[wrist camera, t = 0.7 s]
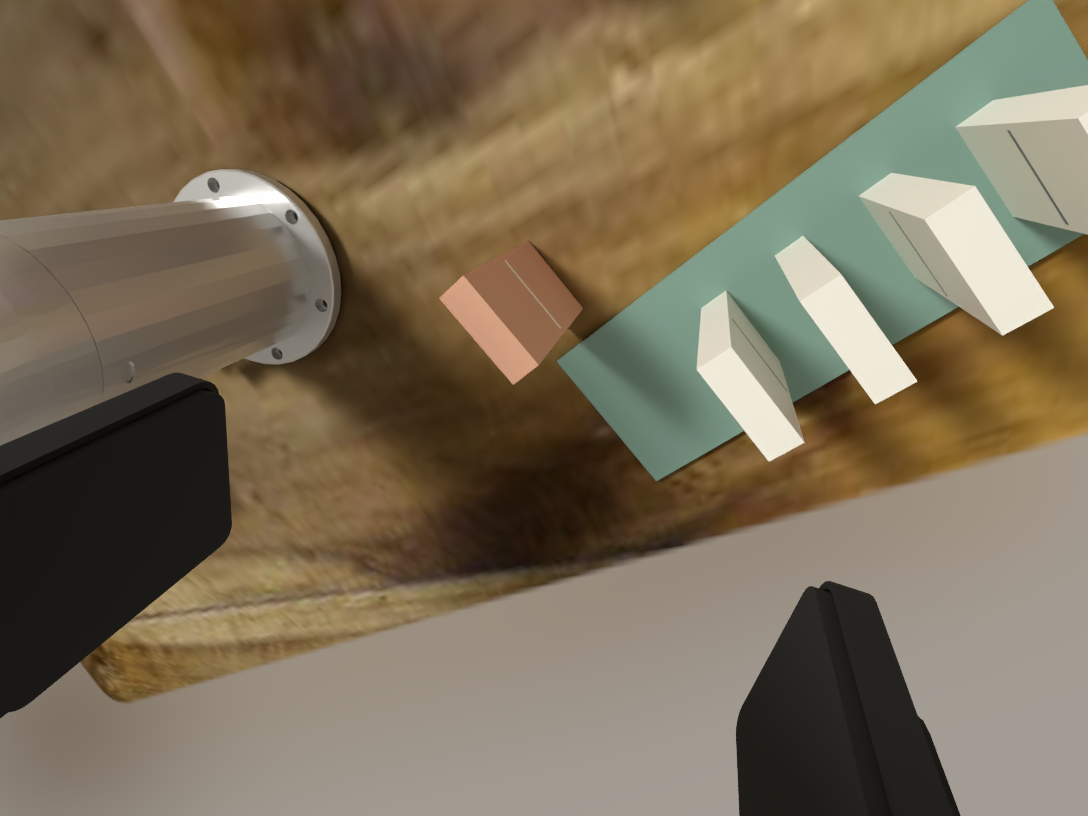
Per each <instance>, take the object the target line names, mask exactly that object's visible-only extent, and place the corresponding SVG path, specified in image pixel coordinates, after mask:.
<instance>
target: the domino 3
mask: <svg viewBox="0 0 1088 816" xmlns="http://www.w3.org/2000/svg"><path fill="white" fill-rule="evenodd" d="M956 129H957V131H958V132H959V134H960V135H961V137H962V138H963V140H964V141H965V143H966V145H967V146H968V148H969V149H970V151H971V152H972V154H973V155H974V157H975V159H976V160H977V162H978V163H979V165H980V166H981V168H982V169H983V171H984V173H985V174H986V176H987V177H988V179H989V180H990V182H991V183H992V185H993V187H994V188H995V190H996V191H997V193H998V194H999V196H1000V197H1001V199H1002V200H1003V202H1004V204H1005V205H1006V207H1007V208H1008V210H1009V211H1010V213H1011V214H1012V216H1013V217H1017V218H1021V219H1025V220H1029V221H1033V222H1037V223H1041V224H1046V225H1050V226H1054V227H1058V228H1062V229H1066V230H1071V231H1075V232H1079V233H1083V234H1087V235H1088V85H1085V86H1078V87H1072V88H1066V89H1059V90H1053V91H1047V92H1041V93H1034V94H1028V95H1022V96H1015V97H1009V98H1003V99H997V100H993V101H991V102H990V103H989V104H987V105H986V106H984V107H983V108H981V109H980V110H979V111H977V112H976V113H974V114H973V115H972V116H970V117H969V118H967V119H966V120H965V121H963V122H962V123H960V124H959V125H958V126H956Z"/></svg>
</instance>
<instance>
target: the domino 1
mask: <svg viewBox="0 0 1088 816" xmlns="http://www.w3.org/2000/svg"><path fill="white" fill-rule="evenodd" d="M697 371H698V372H699V373H700V375H701V376H702V377H703V379H704V380H705V381H706V382H707V384H708V385H709V386H710V387H711V389H712V390H713V391H714V393H715V394H716V395H717V396H718V398H719V399H720V400H721V401H722V403H723V404H724V405H725V406H726V408H727V409H728V410H729V412H730V413H731V414H732V415H733V417H734V418H735V419H736V420H737V422H738V423H739V424H740V426H741V427H742V428H743V429H744V431H745V432H746V433H747V434H748V436H749V437H750V438H751V440H752V441H753V442H754V443H755V445H756V446H757V447H758V448H759V450H760V451H761V452H762V453H763V455H764V456H765V457H766V459H767V460H768V461H771V460H773V459H775V458H777V457H779V456H780V455H782V454H784V453H786V452H788V451H790V450H792V449H793V448H795V447H797V446H799V445H801V444H803V443H804V439H803V436H802V432H801V429H800V426H799V422H798V419H797V416H796V413H795V409H794V406H793V403H792V400H791V396H790V393H789V390H788V386H787V383H786V380H785V377H784V373H783V370H782V367H781V364H780V361H779V359H778V358H777V357H776V355H775V354H774V353H773V352H772V350H771V349H770V348H769V346H768V345H767V344H766V342H765V341H764V340H763V338H762V337H761V336H760V334H759V333H758V332H757V330H756V329H755V328H754V326H753V325H752V324H751V322H750V321H749V320H748V318H747V317H746V316H745V314H744V313H743V312H742V311H741V309H740V308H739V307H738V305H737V304H736V303H735V301H734V300H733V299H732V297H731V296H730V295H729V293H728V292H727V291H724V292H723V293H722V294H720V295H719V296H717V297H716V298H715V299H713V300H712V301H710V302H709V303H708V304H706V305H705V306H703V307H702V308H701V317H700V330H699V344H698V357H697Z"/></svg>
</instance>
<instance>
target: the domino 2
mask: <svg viewBox="0 0 1088 816" xmlns="http://www.w3.org/2000/svg"><path fill="white" fill-rule="evenodd" d="M775 258H776V259H777V261H778V263H779V265H780V267H781V268H782V270H783V272H784V274H785V276H786V278H787V279H788V281H789V283H790V285H791V287H792V288H793V290H794V292H795V294H796V296H797V298H798V299H799V301H800V303H801V304H802V305H803V307H804V308H805V310H806V311H807V312H808V314H809V315H810V316H811V318H812V319H813V320H814V322H815V323H816V324H817V326H818V327H819V329H820V330H821V331H822V333H823V334H824V335H825V337H826V338H827V339H828V341H829V342H830V344H831V345H832V346H833V348H834V349H835V350H836V352H837V353H838V354H839V356H840V357H841V359H842V360H843V361H844V363H845V364H846V365H847V367H848V368H849V369H850V371H851V372H852V374H853V375H854V376H855V378H856V379H857V380H858V382H859V383H860V384H861V386H862V387H863V389H864V390H865V391H866V393H867V394H868V395H869V397H870V398H871V399H872V401H873V402H874V403H875V404H877V403H879V402H881V401H882V400H884V399H886V398H888V397H890V396H892V395H893V394H895V393H897V392H899V391H901V390H903V389H905V388H906V387H908V386H910V385H912V384H914V383H916V382H918V381H917V380H916V378H915V377H914V376H913V374H912V373H911V371H910V370H909V368H908V367H907V366H906V364H905V363H904V361H903V360H902V359H901V357H900V356H899V354H898V353H897V352H896V350H895V349H894V347H893V346H892V345H891V343H890V342H889V340H888V339H887V338H886V336H885V335H884V333H883V332H882V331H881V329H880V328H879V326H878V325H877V324H876V322H875V321H874V319H873V318H872V317H871V315H870V314H869V312H868V311H867V310H866V308H865V307H864V305H863V304H862V303H861V301H860V300H859V298H858V297H857V296H856V294H855V293H854V291H853V290H852V289H851V287H850V286H849V284H848V283H847V282H846V280H845V279H844V277H843V276H842V275H841V273H840V272H839V271H838V270H837V269H836V268H835V267H834V266H833V265H832V264H831V263H830V262H829V261H828V260H827V259H826V258H825V257H824V256H823V255H822V254H821V253H820V252H819V251H818V250H817V249H816V248H815V247H814V246H813V245H812V244H811V243H810V242H809V241H808V240H807V239H806V238H805V237H804V236H802V237H800V238H799V239H798V240H796V241H795V242H793V243H792V244H791V245H789V246H788V247H786V248H785V249H783V250H782V251H781V252H779V253H778V254H776V255H775Z"/></svg>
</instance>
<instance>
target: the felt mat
mask: <svg viewBox="0 0 1088 816" xmlns="http://www.w3.org/2000/svg"><path fill="white" fill-rule="evenodd" d="M1085 85H1088V60H1087V58H1086V56H1085V55H1084V53H1083V51H1082V49H1081V48H1080V46H1079V44H1078V43H1077V41H1076V39H1075V38H1074V36H1073V34H1072V32H1071V31H1070V29H1069V27H1068V26H1067V24H1066V22H1065V21H1064V19H1063V17H1062V15H1061V14H1060V12H1059V10H1058V9H1057V7H1056V5H1055V4H1054V2H1053V0H1028V1H1027V2H1025V3H1024V4H1023V5H1021V6H1020V7H1019V8H1018V9H1016V10H1015V11H1014V12H1012V13H1011V14H1010V15H1008V16H1007V17H1006V18H1004V19H1003V20H1002V21H1001V22H999V23H998V24H997V25H995V26H994V27H993V28H991V29H990V30H989V31H987V32H986V33H985V34H984V35H982V36H981V37H980V38H978V39H977V40H976V41H974V42H973V43H972V44H970V45H969V46H968V47H967V48H965V49H964V50H963V51H961V52H960V53H959V54H957V55H956V56H955V57H953V58H952V59H951V60H950V61H948V62H947V63H946V64H944V65H943V66H942V67H940V68H939V69H938V70H936V71H935V72H934V73H933V74H931V75H930V76H929V77H927V78H926V79H925V80H923V81H922V82H921V83H919V84H918V85H917V86H916V87H914V88H913V89H912V90H910V91H909V92H908V93H906V94H905V95H904V96H902V97H901V98H900V99H899V100H897V101H896V102H895V103H893V104H892V105H891V106H889V107H888V108H887V109H885V110H884V111H883V112H882V113H880V114H879V115H878V116H876V117H875V118H874V119H872V120H871V121H870V122H868V123H867V124H866V125H865V126H863V127H862V128H861V129H859V130H858V131H857V132H855V133H854V134H853V135H851V136H850V137H849V138H848V139H846V140H845V141H844V142H842V143H841V144H840V145H838V146H837V147H836V148H834V149H833V150H832V151H831V152H829V153H828V154H827V155H825V156H824V157H823V158H821V159H820V160H819V161H817V162H816V163H815V164H814V165H812V166H811V167H810V168H808V169H807V170H806V171H804V172H803V173H802V174H800V175H799V176H798V177H797V178H795V179H794V180H793V181H791V182H790V183H789V184H787V185H786V186H785V187H783V188H782V189H781V190H780V191H778V192H777V193H776V194H774V195H773V196H772V197H770V198H769V199H768V200H766V201H765V202H764V203H763V204H761V205H760V206H759V207H757V208H756V209H755V210H753V211H752V212H751V213H749V214H748V215H747V216H746V217H744V218H743V219H742V220H740V221H739V222H738V223H736V224H735V225H734V226H732V227H731V228H730V229H728V230H727V231H726V232H725V233H723V234H722V235H721V236H719V237H718V238H717V239H715V240H714V241H713V242H711V243H710V244H709V245H708V246H706V247H705V248H704V249H702V250H701V251H700V252H698V253H697V254H696V255H694V256H693V257H692V258H691V259H689V260H688V261H687V262H685V263H684V264H683V265H681V266H680V267H679V268H677V269H676V270H675V271H674V272H672V273H671V274H670V275H668V276H667V277H666V278H664V279H663V280H662V281H660V282H659V283H658V284H657V285H655V286H654V287H653V288H651V289H650V290H649V291H647V292H646V293H645V294H643V295H642V296H641V297H640V298H638V299H637V300H636V301H634V302H633V303H632V304H630V305H629V306H628V307H626V308H625V309H624V310H623V311H621V312H620V313H619V314H617V315H616V316H615V317H613V318H612V319H611V320H609V321H608V322H607V323H606V324H604V325H603V326H602V327H600V328H599V329H598V330H596V331H595V332H594V333H592V334H591V335H590V336H589V337H587V338H586V339H585V340H583V341H582V342H581V343H579V344H578V345H577V346H575V347H574V348H573V349H572V350H570V351H569V352H568V353H566V354H565V355H564V356H562V357H561V358H560V359H558V361H557V363H558V364H559V365H560V366H561V367H562V369H563V370H564V371H565V372H566V373H567V375H568V376H569V377H570V378H571V379H572V381H573V382H574V383H575V384H576V385H577V387H578V388H579V389H580V390H581V391H582V393H583V394H584V395H585V396H586V397H587V399H588V400H589V401H590V402H591V403H592V405H593V406H594V407H595V408H596V409H597V411H598V412H599V413H600V414H601V415H602V417H603V418H604V419H605V420H606V421H607V423H608V424H609V425H610V426H611V427H612V429H613V430H614V431H615V432H616V433H617V435H618V436H619V437H620V438H621V439H622V441H623V442H624V443H625V444H626V445H627V447H628V448H629V449H630V450H631V451H632V453H633V454H634V455H635V456H636V457H637V459H638V460H639V461H640V462H641V463H642V465H643V466H644V467H645V468H646V469H647V471H648V472H649V473H650V474H651V475H652V477H653V478H654V479H655V480H656V481H658V480H660V479H662V478H663V477H665V476H667V475H668V474H670V473H672V472H674V471H675V470H677V469H679V468H681V467H682V466H684V465H686V464H687V463H689V462H691V461H693V460H694V459H696V458H698V457H700V456H701V455H703V454H705V453H707V452H708V451H710V450H712V449H713V448H715V447H717V446H719V445H720V444H722V443H724V442H726V441H727V440H729V439H731V438H732V437H734V436H736V435H738V434H739V433H741V432H743V431H744V429H743V428H742V427H741V426H740V424H739V423H738V422H737V420H736V419H735V418H734V417H733V415H732V414H731V413H730V412H729V410H728V409H727V408H726V406H725V405H724V404H723V403H722V401H721V400H720V399H719V398H718V396H717V395H716V394H715V393H714V391H713V390H712V389H711V387H710V386H709V385H708V384H707V382H706V381H705V380H704V379H703V377H702V376H701V375H700V373H699V372H698V371H697V357H698V344H699V330H700V317H701V308H702V307H703V306H705V305H706V304H708V303H709V302H710V301H712V300H713V299H715V298H716V297H717V296H719V295H720V294H722V293H723V292H724V291H727V292H728V293H729V295H730V296H731V297H732V299H733V300H734V301H735V303H736V304H737V305H738V307H739V308H740V309H741V311H742V312H743V313H744V314H745V316H746V317H747V318H748V320H749V321H750V322H751V324H752V325H753V326H754V328H755V329H756V330H757V332H758V333H759V334H760V336H761V337H762V338H763V340H764V341H765V342H766V344H767V345H768V346H769V348H770V349H771V350H772V352H773V353H774V354H775V355H776V357H777V358H778V359H779V361H780V364H781V367H782V370H783V373H784V377H785V380H786V383H787V386H788V390H789V393H790V396H791V400H792V403H793V402H795V401H796V400H798V399H800V398H802V397H803V396H805V395H807V394H809V393H810V392H812V391H814V390H816V389H817V388H819V387H821V386H822V385H824V384H826V383H828V382H829V381H831V380H833V379H835V378H836V377H838V376H840V375H841V374H843V373H845V372H847V371H848V370H850V369H849V368H848V367H847V365H846V364H845V363H844V361H843V360H842V359H841V357H840V356H839V354H838V353H837V352H836V350H835V349H834V348H833V346H832V345H831V344H830V342H829V341H828V339H827V338H826V337H825V335H824V334H823V333H822V331H821V330H820V329H819V327H818V326H817V324H816V323H815V322H814V320H813V319H812V318H811V316H810V315H809V314H808V312H807V311H806V310H805V308H804V307H803V305H802V304H801V303H800V301H799V299H798V298H797V296H796V294H795V292H794V290H793V288H792V287H791V285H790V283H789V281H788V279H787V278H786V276H785V274H784V272H783V270H782V268H781V267H780V265H779V263H778V261H777V259H776V258H775V255H776V254H778V253H779V252H781V251H782V250H783V249H785V248H786V247H788V246H789V245H791V244H792V243H793V242H795V241H796V240H798V239H799V238H800V237H802V236H804V237H805V238H806V239H807V240H808V241H809V242H810V243H811V244H812V245H813V246H814V247H815V248H816V249H817V250H818V251H819V252H820V253H821V254H822V255H823V256H824V257H825V258H826V259H827V260H828V261H829V262H830V263H831V264H832V265H833V266H834V267H835V268H836V269H837V270H838V271H839V272H840V273H841V275H842V276H843V277H844V279H845V280H846V282H847V283H848V284H849V286H850V287H851V289H852V290H853V291H854V293H855V294H856V296H857V297H858V298H859V300H860V301H861V303H862V304H863V305H864V307H865V308H866V310H867V311H868V312H869V314H870V315H871V317H872V318H873V319H874V321H875V322H876V324H877V325H878V326H879V328H880V329H881V331H882V332H883V333H884V335H885V336H886V338H887V339H888V340H889V342H890V343H891V345H893V344H895V343H897V342H899V341H900V340H902V339H904V338H905V337H907V336H909V335H911V334H912V333H914V332H916V331H918V330H919V329H921V328H923V327H924V326H926V325H928V324H930V323H931V322H933V321H935V320H937V319H938V318H940V317H942V316H944V315H945V314H947V313H949V312H950V311H952V310H954V309H956V308H957V307H959V306H957V305H955V304H954V303H952V302H951V301H949V300H948V299H946V298H945V297H943V296H942V295H940V294H939V293H937V292H936V291H934V290H933V289H931V288H930V287H928V286H927V285H925V284H924V283H922V282H921V281H919V280H918V279H916V278H915V277H914V276H913V274H912V273H911V272H910V270H909V269H908V267H907V266H906V264H905V263H904V261H903V260H902V258H901V257H900V256H899V254H898V253H897V251H896V250H895V248H894V247H893V245H892V244H891V243H890V241H889V240H888V238H887V237H886V235H885V234H884V232H883V231H882V229H881V228H880V227H879V225H878V224H877V222H876V221H875V219H874V218H873V216H872V215H871V214H870V212H869V211H868V209H867V208H866V206H865V205H864V203H863V202H862V200H861V199H860V198H859V195H861V194H862V193H864V192H865V191H866V190H868V189H869V188H871V187H872V186H873V185H875V184H876V183H878V182H879V181H880V180H882V179H883V178H885V177H886V176H887V175H889V174H890V173H896V174H902V175H909V176H915V177H921V178H928V179H934V180H940V181H947V182H953V183H959V184H966V185H972V186H976V188H977V190H978V191H979V193H980V194H981V196H982V197H983V199H984V200H985V202H986V203H987V205H988V206H989V208H990V210H991V211H992V213H993V214H994V216H995V217H996V219H997V220H998V222H999V223H1000V225H1001V226H1002V228H1003V230H1004V231H1005V233H1006V234H1007V236H1008V237H1009V239H1010V240H1011V242H1012V243H1013V245H1014V246H1015V248H1016V250H1017V251H1018V253H1019V254H1020V256H1021V257H1022V259H1023V260H1024V262H1025V263H1026V265H1027V267H1028V266H1030V265H1032V264H1033V263H1035V262H1037V261H1039V260H1040V259H1042V258H1044V257H1046V256H1047V255H1049V254H1051V253H1053V252H1054V251H1056V250H1058V249H1059V248H1061V247H1063V246H1065V245H1066V244H1068V243H1070V242H1072V241H1073V240H1075V239H1077V238H1078V237H1080V236H1082V235H1084V234H1083V233H1079V232H1075V231H1071V230H1066V229H1062V228H1058V227H1054V226H1050V225H1046V224H1041V223H1037V222H1033V221H1029V220H1025V219H1021V218H1017V217H1013V216H1012V214H1011V213H1010V211H1009V210H1008V208H1007V207H1006V205H1005V204H1004V202H1003V200H1002V199H1001V197H1000V196H999V194H998V193H997V191H996V190H995V188H994V187H993V185H992V183H991V182H990V180H989V179H988V177H987V176H986V174H985V173H984V171H983V169H982V168H981V166H980V165H979V163H978V162H977V160H976V159H975V157H974V155H973V154H972V152H971V151H970V149H969V148H968V146H967V145H966V143H965V141H964V140H963V138H962V137H961V135H960V134H959V132H958V131H957V129H956V126H958V125H959V124H960V123H962V122H963V121H965V120H966V119H967V118H969V117H970V116H972V115H973V114H974V113H976V112H977V111H979V110H980V109H981V108H983V107H984V106H986V105H987V104H989V103H990V102H991V101H993V100H997V99H1003V98H1009V97H1015V96H1022V95H1028V94H1034V93H1041V92H1047V91H1053V90H1059V89H1066V88H1072V87H1078V86H1085Z"/></svg>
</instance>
